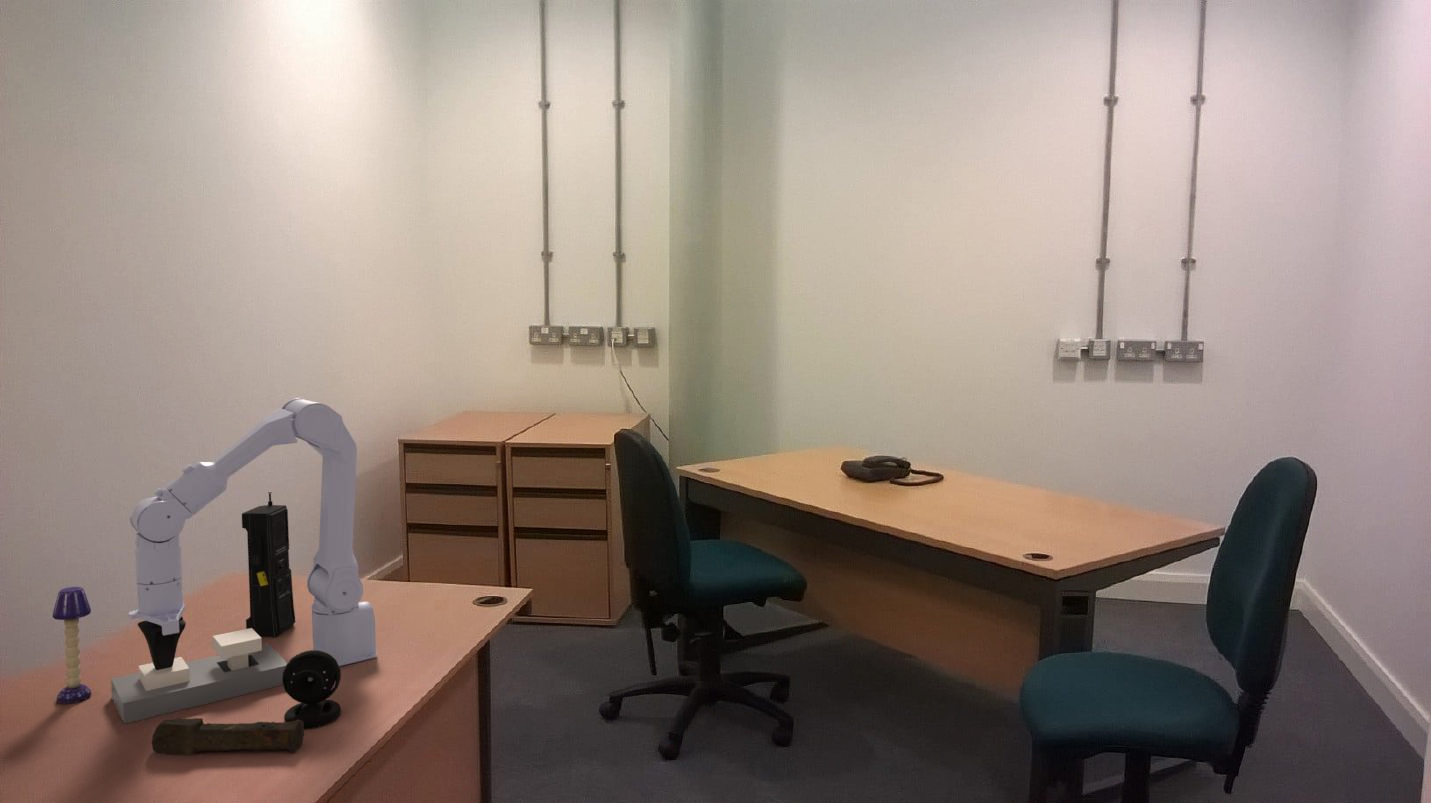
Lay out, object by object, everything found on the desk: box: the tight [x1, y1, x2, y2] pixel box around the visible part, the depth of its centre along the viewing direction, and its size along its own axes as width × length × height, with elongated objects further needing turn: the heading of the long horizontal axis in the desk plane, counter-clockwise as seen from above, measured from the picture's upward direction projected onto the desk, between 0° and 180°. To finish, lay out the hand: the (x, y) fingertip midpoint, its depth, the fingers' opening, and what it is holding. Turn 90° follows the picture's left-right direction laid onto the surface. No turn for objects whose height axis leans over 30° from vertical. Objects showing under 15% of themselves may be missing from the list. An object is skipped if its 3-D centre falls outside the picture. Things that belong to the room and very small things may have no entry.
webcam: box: [282, 649, 342, 730], centre depth 129 cm, size 8×8×10 cm
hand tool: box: [151, 717, 305, 756], centre depth 120 cm, size 19×4×5 cm, turn 93°
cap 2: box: [212, 628, 263, 671], centre depth 141 cm, size 6×6×5 cm
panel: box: [110, 644, 288, 725], centre depth 138 cm, size 22×11×3 cm, turn 131°
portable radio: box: [241, 491, 297, 638], centre depth 161 cm, size 8×6×25 cm
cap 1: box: [138, 656, 190, 691], centre depth 134 cm, size 6×6×5 cm
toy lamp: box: [52, 586, 92, 704], centre depth 134 cm, size 5×5×17 cm
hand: (163, 667), depth 134 cm, fingers closed, pressing on cap 1
